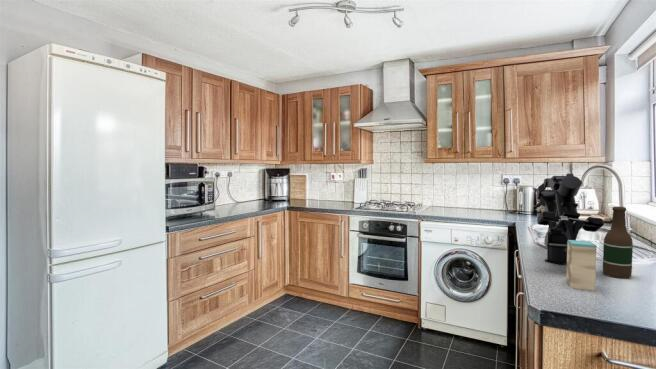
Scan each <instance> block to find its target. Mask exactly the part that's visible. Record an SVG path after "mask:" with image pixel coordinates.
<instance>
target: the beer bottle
mask: <svg viewBox="0 0 656 369" xmlns="http://www.w3.org/2000/svg"><path fill="white" fill-rule="evenodd" d="M611 210H612V211H613V212H612V219H611V226H610V230H608V232H607V233H606V234H605V236H604V238H603V248H602V249H603V251H602V252H603V253H602V273H603V275H605V276H607V277H610V278H616V279H625V280H627V279H630V278H631V277H632V273H633V253H634V252H633V251H634V245H633V244H634V242H633V238H632V235H631V234H630V232H628V230H627V226H626V225H627V224H626V223H627V222H626V211H627V208H626V207H624V206H612V209H611Z"/></svg>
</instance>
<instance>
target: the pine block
mask: <svg viewBox="0 0 656 369" xmlns="http://www.w3.org/2000/svg"><path fill="white" fill-rule="evenodd" d="M597 248H598V246H597V244H595V243H594V242H592V241H589V240H577V239H576V240H568V242H567V264H566V274H565V275H566V276H565V277H566V280H565V282H566V284H568V286H569V287H570V288H571V289H577V290H586V291H596V279H597V278H596V277H597V276H596V275H597Z"/></svg>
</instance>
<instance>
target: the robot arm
mask: <svg viewBox="0 0 656 369" xmlns="http://www.w3.org/2000/svg"><path fill="white" fill-rule="evenodd" d="M582 185H583V183H582V180H581V179H580V178H579V177H577V176H575V175H574V173H566V174H565V175H553V176H552V177H548V178H544V179H543V182H542V183H541V184H540V185H539V186H538V187H537V190H536V200H537V201H538V204H539V205H540V206H541V207H543V208H544V210H543V211H542V212H540V214H539V215H538V216H537V220H536V222H537V223H536V224H538V225H539V226H545V227H546V226H548V229H547V231H546V232H545V233H546V234H545V236H544V242H543V243H544V246H545V247H547V252H546V253H547V254H546V255H547V257H546V258H547V259H544V262H549V263H552V264H557V265H562V266H563V265H567V242H568V240H577V238H578V234H579V232H580V230H581V229H583V230H584V231H585V232H592V233H597V232H598V231H599V230H600V229H601V228H602V227H604V225H605V221H604V220H603V219H602V218H601V217H593V216H588V217H587V218H586V219H580V217H581V214H580V213H578V207H579V203H576V198H575V197H576V196H577V195H578V193H579V191H580V189H581V186H582ZM547 188H550V189H547Z"/></svg>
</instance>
